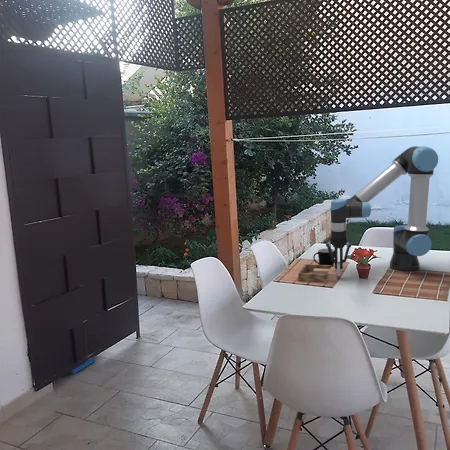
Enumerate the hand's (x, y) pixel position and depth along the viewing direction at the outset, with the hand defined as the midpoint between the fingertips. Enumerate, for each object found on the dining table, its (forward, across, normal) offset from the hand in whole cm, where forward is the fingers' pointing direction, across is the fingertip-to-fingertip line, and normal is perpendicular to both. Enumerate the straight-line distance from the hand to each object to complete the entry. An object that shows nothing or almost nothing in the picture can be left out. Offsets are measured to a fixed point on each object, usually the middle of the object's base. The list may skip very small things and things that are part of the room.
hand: (338, 275), depth 240 cm
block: (+2, +7, 0) cm, 7 cm away
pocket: (+2, +11, 0) cm, 11 cm away
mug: (+2, +10, -18) cm, 21 cm away
